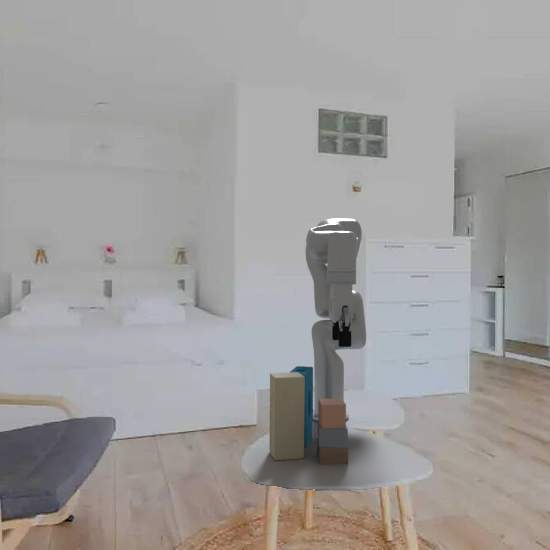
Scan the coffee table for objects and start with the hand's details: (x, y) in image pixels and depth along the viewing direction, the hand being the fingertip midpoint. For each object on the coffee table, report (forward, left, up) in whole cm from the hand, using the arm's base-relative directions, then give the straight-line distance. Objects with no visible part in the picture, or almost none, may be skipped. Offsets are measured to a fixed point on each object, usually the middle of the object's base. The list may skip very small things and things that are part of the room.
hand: (341, 343), depth 142 cm
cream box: (+1, -15, -29) cm, 33 cm away
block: (-9, -10, -29) cm, 32 cm away
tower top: (+5, -3, -25) cm, 25 cm away
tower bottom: (+6, -4, -29) cm, 30 cm away
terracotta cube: (+5, -4, -20) cm, 21 cm away
